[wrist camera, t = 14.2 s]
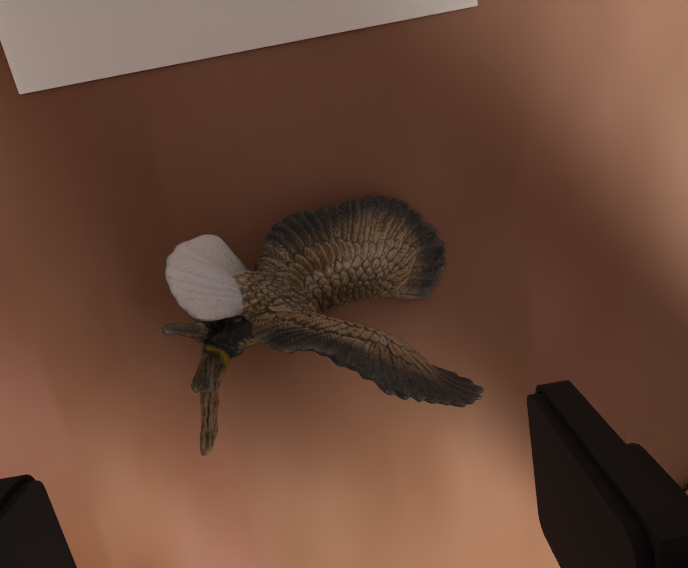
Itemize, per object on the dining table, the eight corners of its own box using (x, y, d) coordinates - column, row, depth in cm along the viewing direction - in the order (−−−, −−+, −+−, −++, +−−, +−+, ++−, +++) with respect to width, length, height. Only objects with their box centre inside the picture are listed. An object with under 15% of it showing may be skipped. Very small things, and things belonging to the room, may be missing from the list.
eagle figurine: (250, 447, 21) (488, 408, 20) (142, 467, 15) (489, 412, 13) (229, 258, 23) (444, 207, 22) (124, 198, 17) (426, 118, 15)
